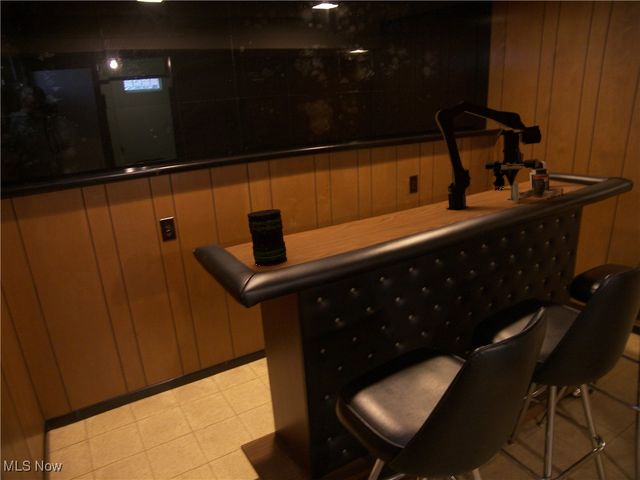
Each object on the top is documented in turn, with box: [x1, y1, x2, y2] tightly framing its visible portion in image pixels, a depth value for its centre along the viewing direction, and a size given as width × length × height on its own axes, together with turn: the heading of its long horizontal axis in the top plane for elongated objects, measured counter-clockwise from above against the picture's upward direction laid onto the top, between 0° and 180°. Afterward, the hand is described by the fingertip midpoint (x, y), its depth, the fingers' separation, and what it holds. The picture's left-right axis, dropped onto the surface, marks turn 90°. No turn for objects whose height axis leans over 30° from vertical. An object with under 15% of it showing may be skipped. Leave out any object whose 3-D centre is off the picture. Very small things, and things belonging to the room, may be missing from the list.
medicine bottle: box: [529, 161, 550, 189], centre depth 209 cm, size 7×7×12 cm
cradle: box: [519, 187, 564, 200], centre depth 187 cm, size 12×12×2 cm
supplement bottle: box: [533, 167, 551, 198], centre depth 186 cm, size 6×6×11 cm
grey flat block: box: [510, 179, 520, 203], centre depth 183 cm, size 13×2×7 cm, turn 163°
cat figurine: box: [490, 167, 506, 191], centre depth 218 cm, size 7×7×12 cm
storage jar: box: [246, 208, 288, 267], centre depth 133 cm, size 10×10×15 cm
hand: (511, 186), depth 180 cm, fingers closed
